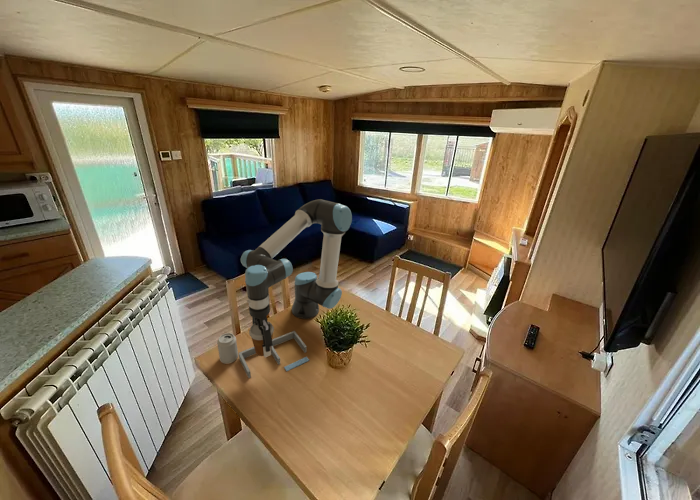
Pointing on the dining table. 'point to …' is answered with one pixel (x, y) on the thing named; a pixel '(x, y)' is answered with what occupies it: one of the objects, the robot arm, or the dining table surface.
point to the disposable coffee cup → (259, 338)
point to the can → (227, 348)
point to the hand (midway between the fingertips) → (263, 348)
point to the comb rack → (275, 342)
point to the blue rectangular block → (296, 364)
